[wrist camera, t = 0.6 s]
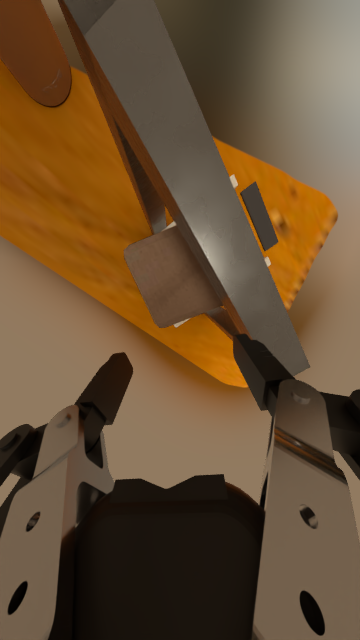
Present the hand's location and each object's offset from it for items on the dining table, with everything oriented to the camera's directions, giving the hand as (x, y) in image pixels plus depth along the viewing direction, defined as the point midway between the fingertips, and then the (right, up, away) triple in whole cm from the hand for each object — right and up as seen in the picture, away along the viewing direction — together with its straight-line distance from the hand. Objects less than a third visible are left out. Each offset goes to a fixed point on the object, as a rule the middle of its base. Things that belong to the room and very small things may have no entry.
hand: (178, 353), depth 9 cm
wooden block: (-1, +13, +24) cm, 27 cm away
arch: (+1, +14, +23) cm, 27 cm away
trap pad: (+19, +26, +21) cm, 39 cm away
